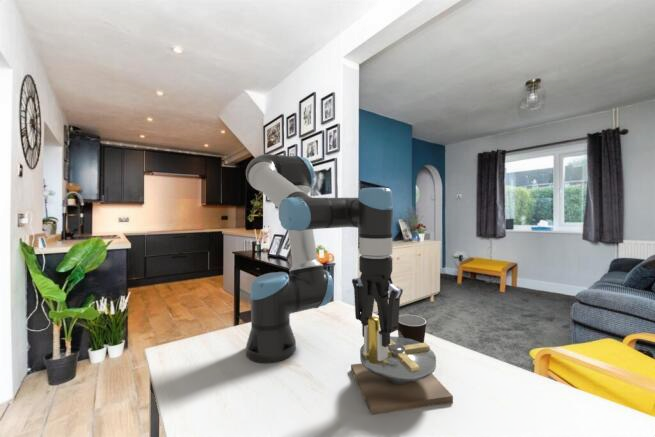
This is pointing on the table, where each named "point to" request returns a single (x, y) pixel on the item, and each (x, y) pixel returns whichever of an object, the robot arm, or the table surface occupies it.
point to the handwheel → (398, 357)
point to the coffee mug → (412, 327)
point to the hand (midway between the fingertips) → (375, 354)
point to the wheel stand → (398, 391)
